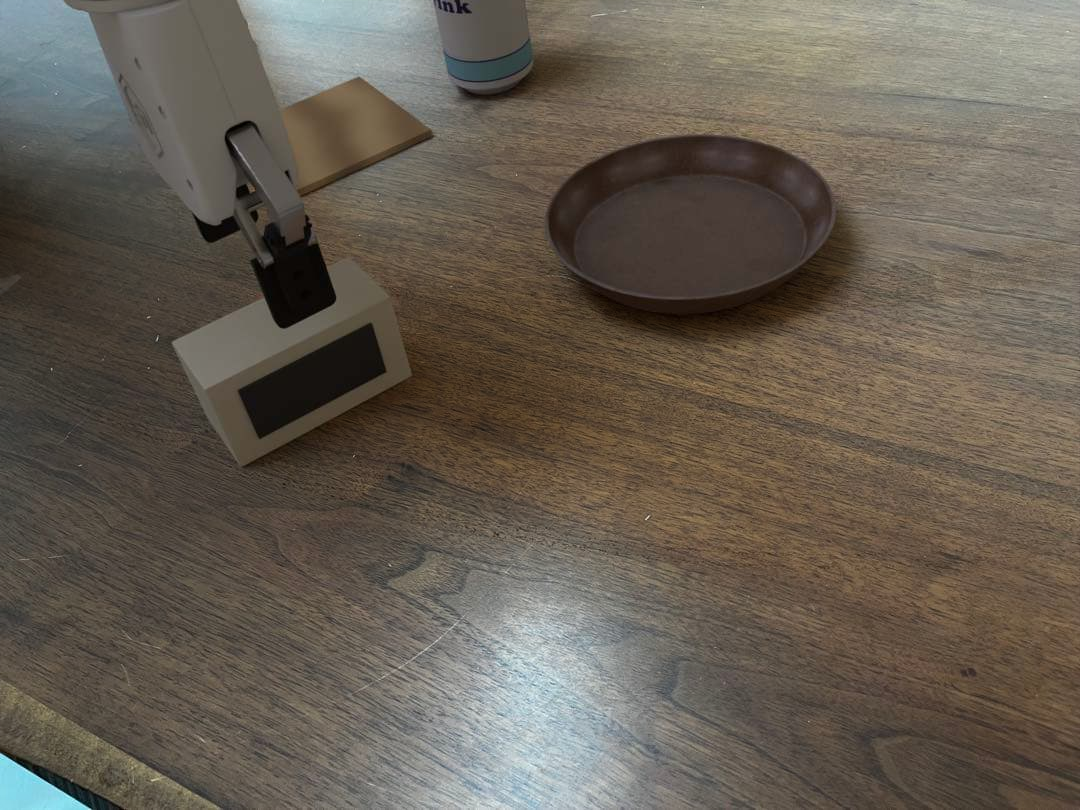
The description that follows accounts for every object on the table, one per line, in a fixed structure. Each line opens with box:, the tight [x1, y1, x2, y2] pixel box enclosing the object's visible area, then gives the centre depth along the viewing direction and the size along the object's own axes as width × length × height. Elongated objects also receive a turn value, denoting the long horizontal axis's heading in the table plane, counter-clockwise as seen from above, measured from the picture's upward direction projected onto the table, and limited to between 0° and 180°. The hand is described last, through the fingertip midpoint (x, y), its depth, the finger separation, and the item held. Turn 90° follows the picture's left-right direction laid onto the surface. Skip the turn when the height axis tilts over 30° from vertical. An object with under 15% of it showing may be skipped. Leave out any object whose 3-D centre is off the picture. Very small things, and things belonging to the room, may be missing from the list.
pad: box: [279, 76, 433, 197], centre depth 84 cm, size 12×12×1 cm
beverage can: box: [432, 0, 534, 96], centre depth 83 cm, size 7×7×12 cm
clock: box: [171, 256, 413, 468], centre depth 61 cm, size 11×5×6 cm, turn 124°
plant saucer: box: [544, 133, 837, 315], centre depth 68 cm, size 18×18×3 cm
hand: (267, 270), depth 56 cm, fingers open, 9 cm apart
